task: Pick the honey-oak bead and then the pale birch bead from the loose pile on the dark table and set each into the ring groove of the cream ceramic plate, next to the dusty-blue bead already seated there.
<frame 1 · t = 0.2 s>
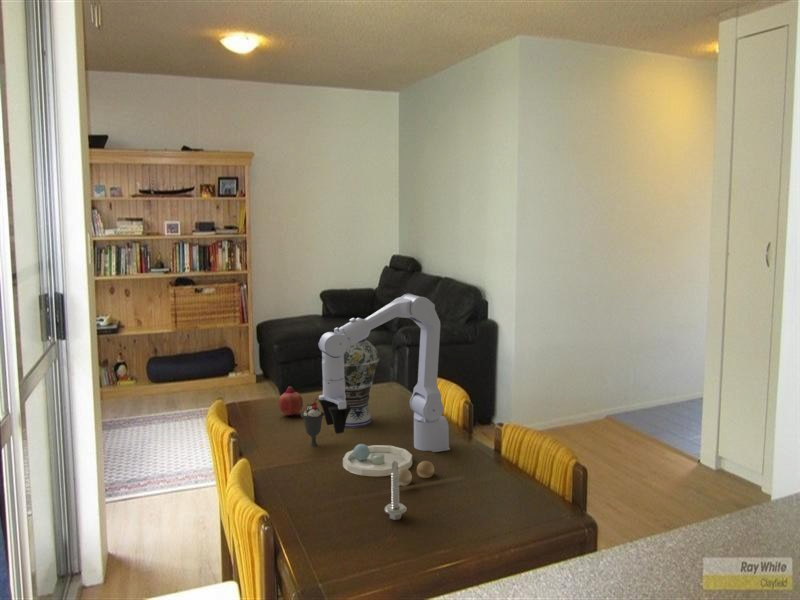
hand: (335, 428, 175), 10 cm above the table, fingers open, 7 cm apart
bead oak: (425, 478, 167), on the table
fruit: (291, 416, 220), on the table
vase: (354, 422, 213), on the table
bead birch: (403, 485, 162), on the table
bead blue: (361, 460, 178), point 1 cm above the table, touching tray
tray: (377, 465, 176), on the table
screw: (395, 518, 146), on the table
sundae: (314, 448, 190), on the table
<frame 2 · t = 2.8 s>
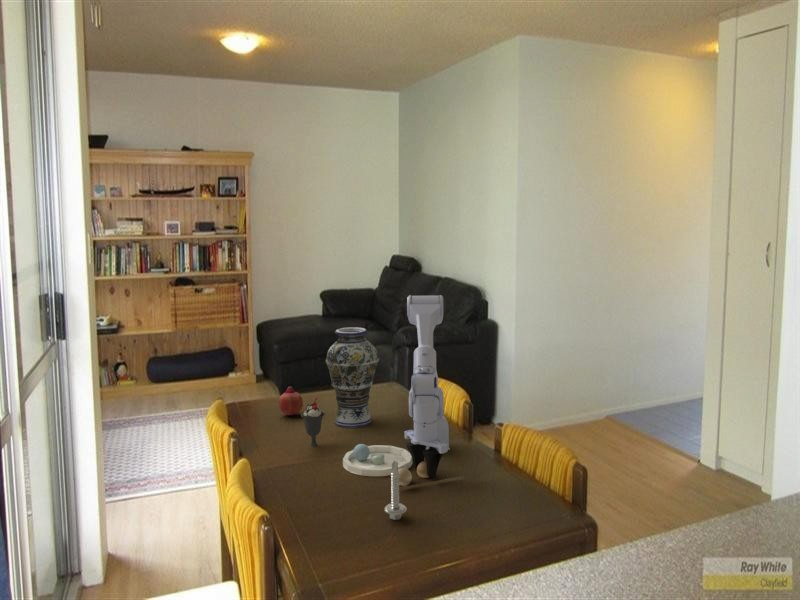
hand: (425, 472, 167), 1 cm above the table, fingers closed on bead oak, 4 cm apart
bead oak: (425, 478, 167), on the table, touching gripper
everything else where it was.
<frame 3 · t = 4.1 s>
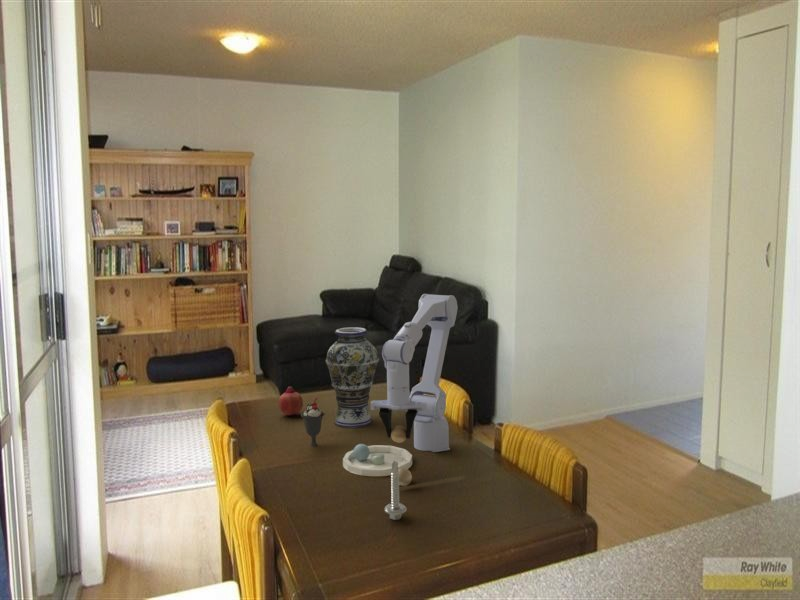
hand: (399, 436, 173), 8 cm above the table, fingers closed on bead oak, 4 cm apart
bead oak: (399, 442, 173), point 7 cm above the table, touching gripper
everything else where it was.
when the fingers open (4 cm above the table, at t = 5.5 s): bead oak drops 1 cm, resting on tray.
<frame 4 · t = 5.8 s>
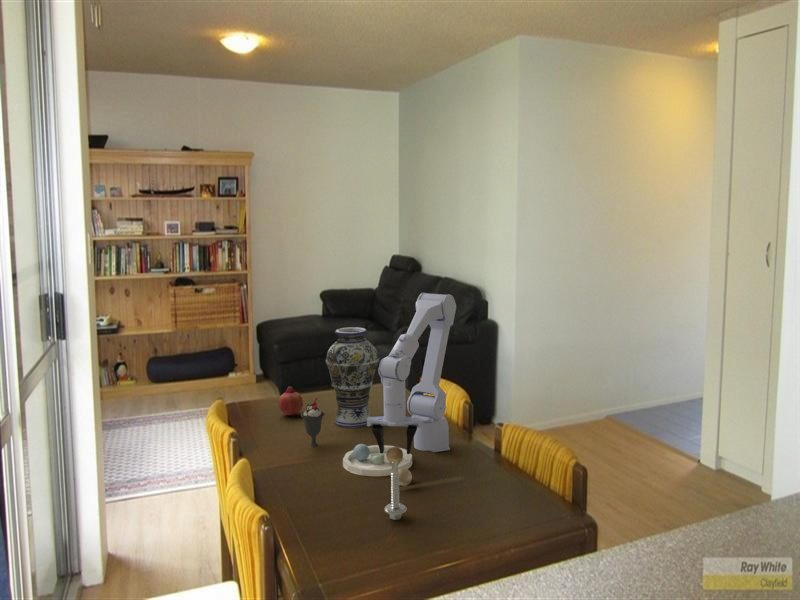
hand: (395, 452, 175), 4 cm above the table, fingers open, 6 cm apart
bead oak: (395, 463, 175), point 1 cm above the table, tilted 7°, touching tray
everything else where it was.
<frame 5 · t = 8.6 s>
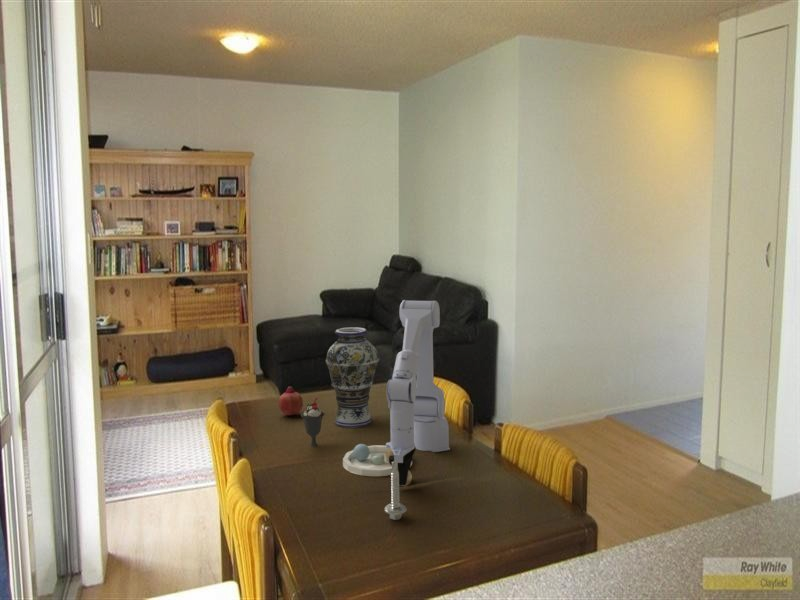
hand: (402, 480, 162), 1 cm above the table, fingers closed on bead birch, 4 cm apart
bead oak: (395, 463, 175), point 1 cm above the table, tilted 13°, touching tray
bead birch: (402, 485, 162), on the table, touching gripper
everything else where it was.
when the fingers open (4 cm above the table, at t = 11.4 s): bead birch drops 1 cm, resting on tray.
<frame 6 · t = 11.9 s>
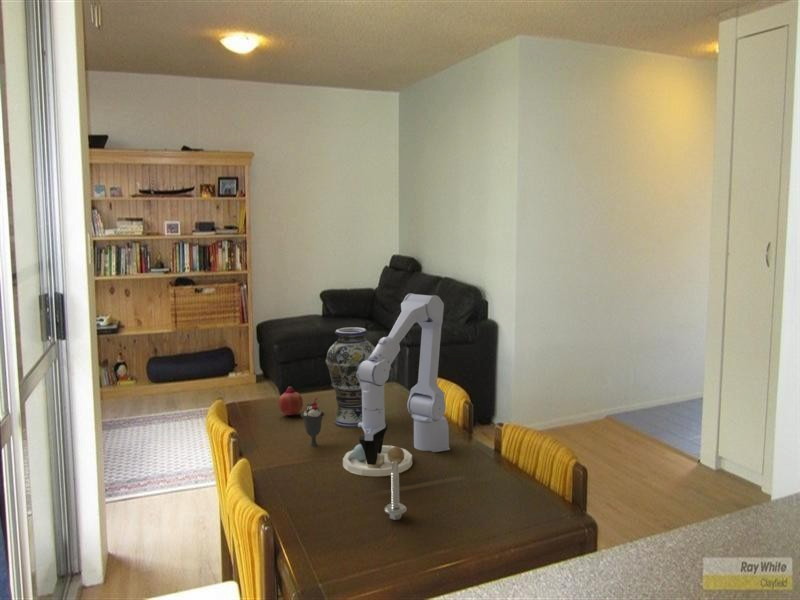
hand: (374, 458, 171), 4 cm above the table, fingers open, 7 cm apart
bead oak: (395, 463, 175), point 1 cm above the table, touching tray
bead birch: (374, 469, 171), point 1 cm above the table, touching tray
everything else where it was.
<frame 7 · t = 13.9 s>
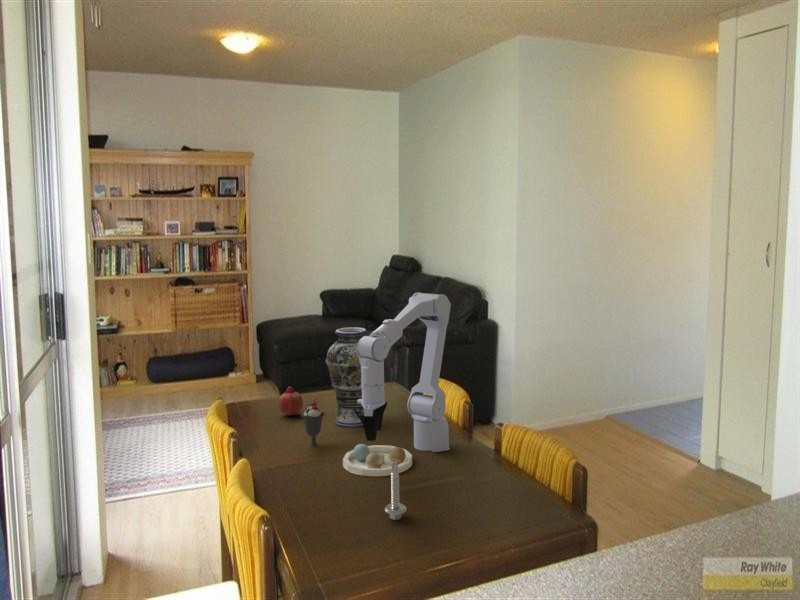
hand: (373, 435, 170), 10 cm above the table, fingers open, 7 cm apart
bead oak: (395, 463, 175), point 1 cm above the table, tilted 12°, touching tray
everything else where it was.
at the end: bead oak inside the target area on the tray (4.8 cm from its centre), point 0.8 cm above the tray's base; bead birch inside the target area on the tray (4.8 cm from its centre), point 0.8 cm above the tray's base; bead blue inside the target area on the tray (4.8 cm from its centre), point 0.8 cm above the tray's base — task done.
